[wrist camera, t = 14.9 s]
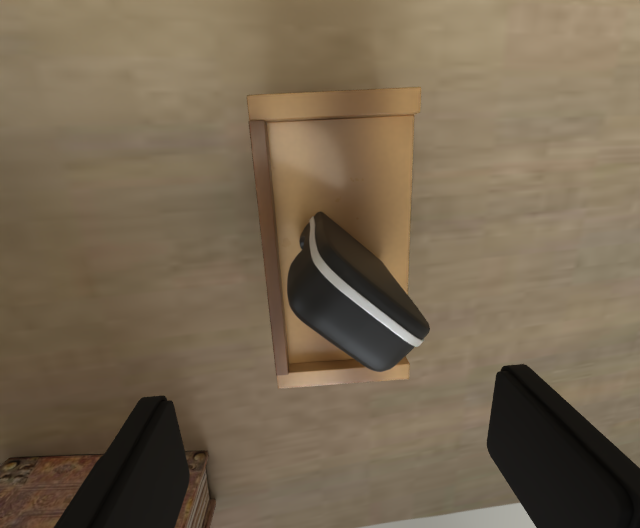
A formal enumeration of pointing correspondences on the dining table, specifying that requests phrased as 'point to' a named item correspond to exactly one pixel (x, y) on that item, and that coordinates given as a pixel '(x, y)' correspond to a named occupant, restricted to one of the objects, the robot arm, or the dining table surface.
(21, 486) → the book
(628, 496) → the robot arm
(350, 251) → the battery charger
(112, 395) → the dining table surface
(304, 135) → the tray
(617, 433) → the dining table surface
